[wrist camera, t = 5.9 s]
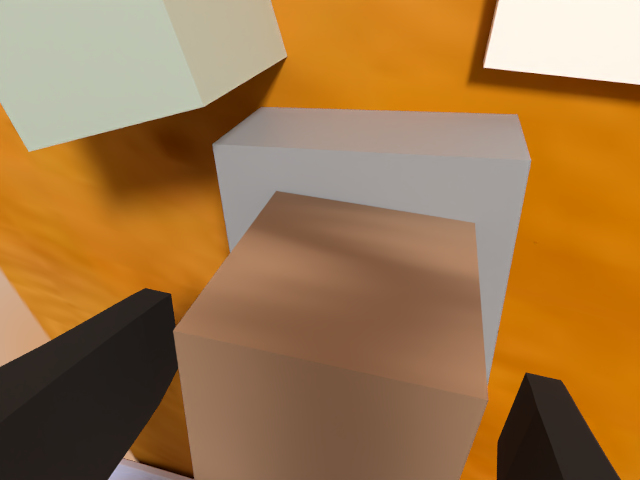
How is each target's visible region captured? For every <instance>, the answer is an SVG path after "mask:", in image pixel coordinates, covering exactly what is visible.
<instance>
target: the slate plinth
mask: <svg viewBox="0 0 640 480" xmlns="http://www.w3.org/2000/svg"><path fill="white" fill-rule="evenodd" d="M212 146H213V152H214V158H215V164H216V170H217V176H218V182H219V188H220V194H221V200H222V206H223V212H224V218H225V224H226V230H227V236H228V243H229V249H230V253H231V251H232V250H233V249H234V247H235V246H236V245H237V243H238V242H239V241H240V239H241V238H242V237H243V235H244V234H245V232H246V231H247V230H248V228H249V227H250V226H251V224H252V223H253V222H254V220H255V219H256V218H257V216H258V215H259V213H260V212H261V211H262V209H263V208H264V207H265V205H266V204H267V203H268V201H269V200H270V199H271V197H272V196H273V195H274V193H275V192H276V191H280V192H287V193H293V194H299V195H305V196H311V197H318V198H324V199H330V200H336V201H342V202H349V203H355V204H361V205H367V206H374V207H380V208H386V209H392V210H398V211H405V212H411V213H417V214H423V215H429V216H436V217H442V218H448V219H454V220H460V221H466V222H472V223H475V230H476V243H477V257H478V270H479V283H480V297H481V310H482V323H483V337H484V350H485V363H486V377H487V386H488V380H489V375H490V370H491V365H492V360H493V355H494V349H495V344H496V339H497V334H498V329H499V324H500V318H501V313H502V308H503V303H504V298H505V293H506V287H507V282H508V277H509V272H510V267H511V262H512V256H513V251H514V246H515V241H516V236H517V231H518V225H519V220H520V215H521V210H522V205H523V200H524V194H525V189H526V184H527V179H528V174H529V169H530V163H531V159H530V155H529V152H528V148H527V145H526V142H525V138H524V135H523V131H522V128H521V125H520V121H519V118H518V115H516V114H482V113H447V112H413V111H379V110H345V109H311V108H277V107H260V108H259V109H258V110H256V111H255V112H254V113H252V114H251V115H250V116H248V117H247V118H246V119H244V120H243V121H242V122H241V123H239V124H238V125H237V126H235V127H234V128H233V129H231V130H230V131H229V132H228V133H226V134H225V135H224V136H222V137H221V138H220V139H218V140H217V141H216V142H214V143H213V144H212Z"/></svg>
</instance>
